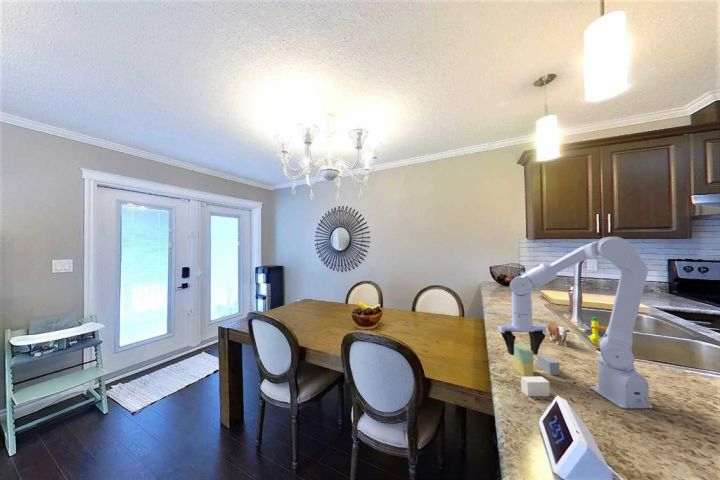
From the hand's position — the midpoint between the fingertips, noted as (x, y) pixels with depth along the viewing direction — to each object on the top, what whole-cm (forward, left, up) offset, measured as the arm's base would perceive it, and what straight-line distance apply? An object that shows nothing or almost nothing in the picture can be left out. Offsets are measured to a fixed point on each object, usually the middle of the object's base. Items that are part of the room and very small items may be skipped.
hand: (522, 353), depth 85 cm
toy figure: (+18, -41, -6) cm, 45 cm away
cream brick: (-12, +4, -6) cm, 14 cm away
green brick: (0, 0, -2) cm, 2 cm away
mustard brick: (0, 0, -6) cm, 6 cm away
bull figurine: (+23, -29, -6) cm, 38 cm away
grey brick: (+1, -9, -6) cm, 11 cm away
